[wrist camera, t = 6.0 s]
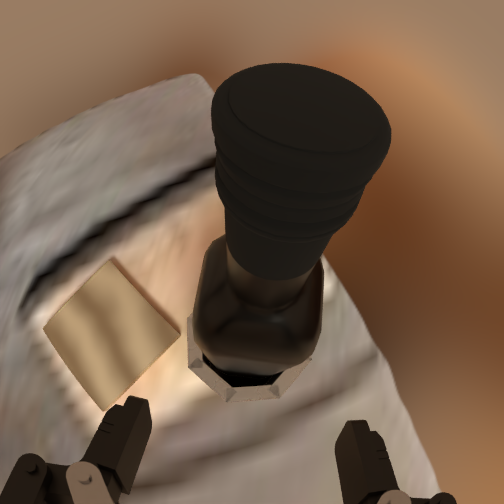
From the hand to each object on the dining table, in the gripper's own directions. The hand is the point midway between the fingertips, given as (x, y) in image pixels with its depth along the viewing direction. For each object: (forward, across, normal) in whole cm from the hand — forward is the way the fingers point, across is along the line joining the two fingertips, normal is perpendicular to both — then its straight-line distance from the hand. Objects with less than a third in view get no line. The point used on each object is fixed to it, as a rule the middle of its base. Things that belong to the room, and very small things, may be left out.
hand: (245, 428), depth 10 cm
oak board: (+18, +16, +11) cm, 27 cm away
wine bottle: (+19, 0, +10) cm, 21 cm away
